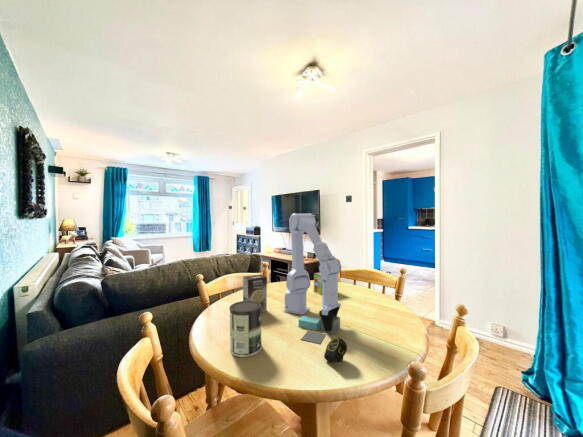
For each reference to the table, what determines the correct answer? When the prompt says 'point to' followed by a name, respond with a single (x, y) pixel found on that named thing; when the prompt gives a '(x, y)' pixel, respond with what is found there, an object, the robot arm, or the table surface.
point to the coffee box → (255, 290)
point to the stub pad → (313, 337)
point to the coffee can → (245, 328)
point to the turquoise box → (310, 322)
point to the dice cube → (333, 325)
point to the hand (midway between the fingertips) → (330, 327)
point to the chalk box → (318, 283)
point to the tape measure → (335, 350)
